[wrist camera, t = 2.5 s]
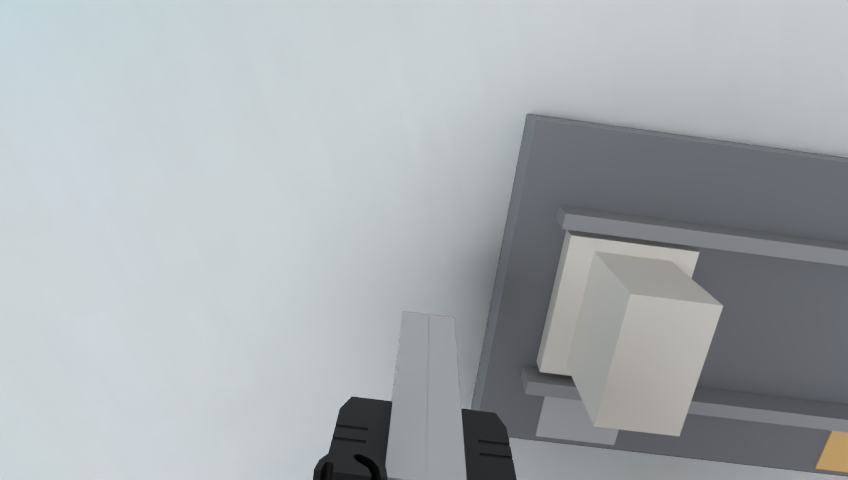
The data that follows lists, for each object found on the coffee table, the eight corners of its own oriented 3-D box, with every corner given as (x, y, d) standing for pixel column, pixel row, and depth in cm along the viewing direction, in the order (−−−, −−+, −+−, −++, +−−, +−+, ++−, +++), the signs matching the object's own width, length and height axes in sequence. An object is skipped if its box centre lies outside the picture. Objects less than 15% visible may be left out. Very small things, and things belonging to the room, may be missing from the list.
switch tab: (650, 375, 24) (703, 451, 19) (536, 361, 24) (562, 435, 19) (690, 245, 22) (759, 295, 17) (566, 229, 22) (603, 275, 17)
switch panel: (907, 457, 28) (966, 507, 25) (471, 406, 27) (477, 451, 24) (1043, 185, 23) (1137, 205, 20) (526, 113, 22) (542, 123, 19)
